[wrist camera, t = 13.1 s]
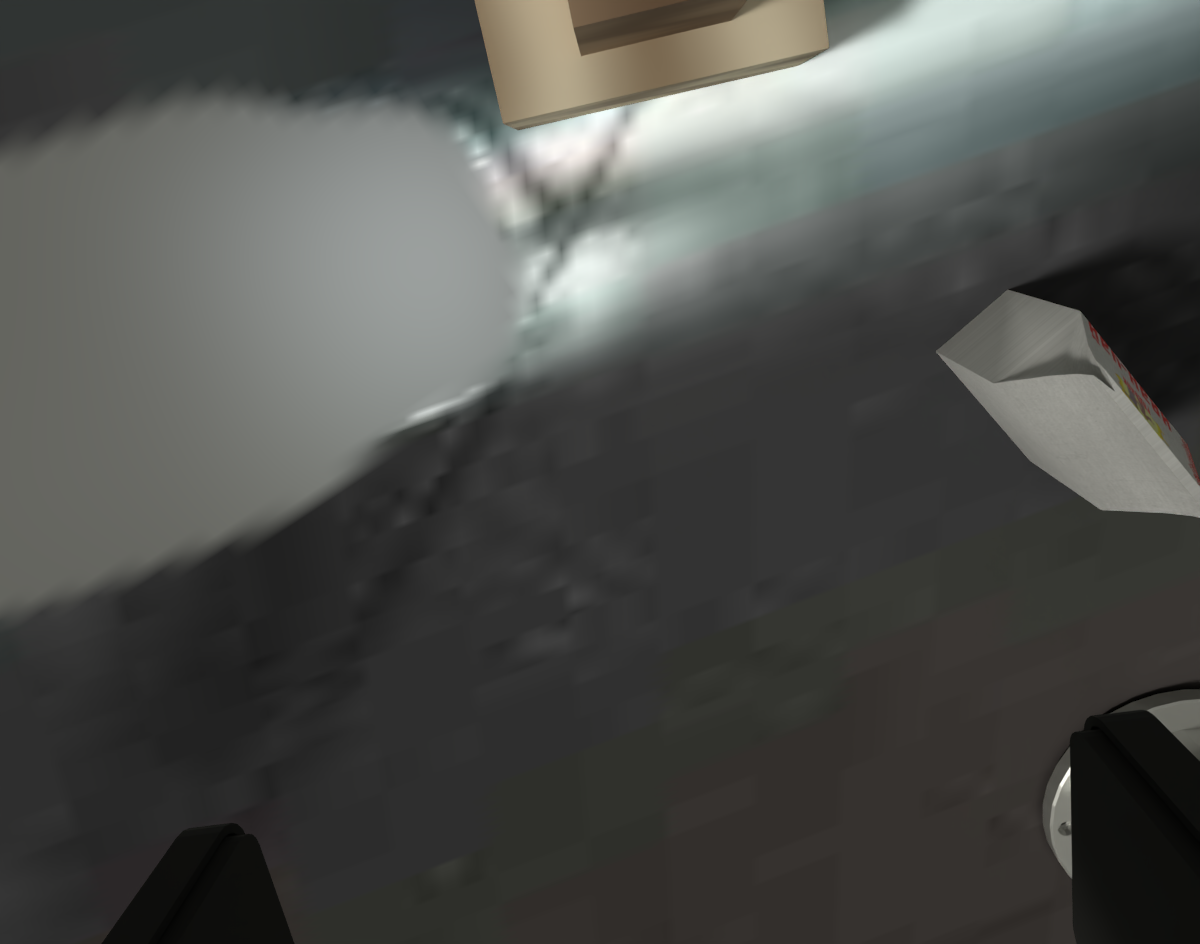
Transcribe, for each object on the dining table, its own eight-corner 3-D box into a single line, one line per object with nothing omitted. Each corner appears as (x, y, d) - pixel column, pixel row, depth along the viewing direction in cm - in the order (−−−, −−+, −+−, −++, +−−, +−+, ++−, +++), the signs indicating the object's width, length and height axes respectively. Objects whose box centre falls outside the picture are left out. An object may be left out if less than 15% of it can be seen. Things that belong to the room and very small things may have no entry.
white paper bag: (1029, 460, 38) (1166, 554, 29) (935, 351, 37) (1046, 413, 27) (1101, 403, 38) (1265, 481, 28) (1007, 289, 36) (1148, 331, 27)
